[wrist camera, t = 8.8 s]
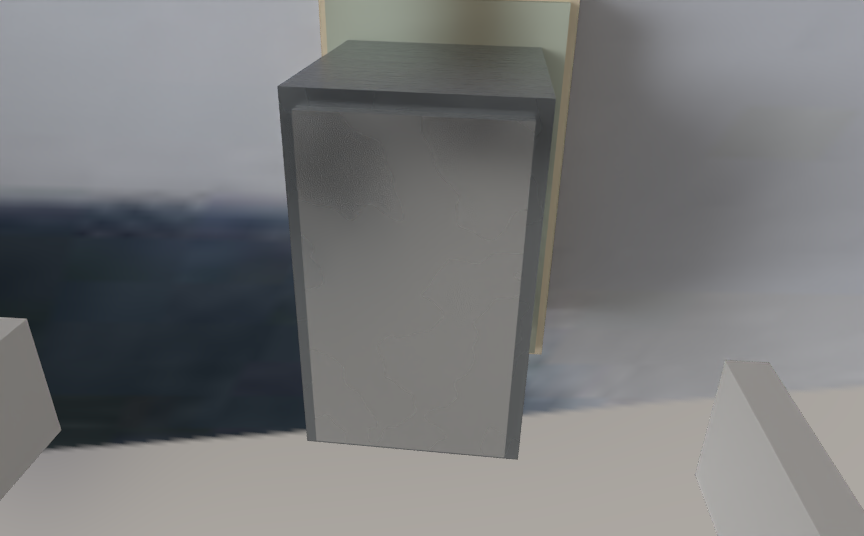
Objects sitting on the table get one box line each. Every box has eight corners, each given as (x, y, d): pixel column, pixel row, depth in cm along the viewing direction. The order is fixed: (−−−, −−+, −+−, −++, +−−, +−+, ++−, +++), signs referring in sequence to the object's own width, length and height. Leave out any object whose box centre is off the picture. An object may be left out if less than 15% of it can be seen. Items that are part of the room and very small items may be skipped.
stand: (355, 300, 29) (336, 345, 26) (341, -22, 23) (314, -15, 20) (538, 312, 28) (541, 360, 25) (572, -16, 22) (582, -8, 19)
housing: (347, 39, 21) (271, 90, 14) (541, 47, 20) (557, 102, 13) (357, 315, 25) (303, 450, 19) (515, 326, 25) (517, 469, 18)
